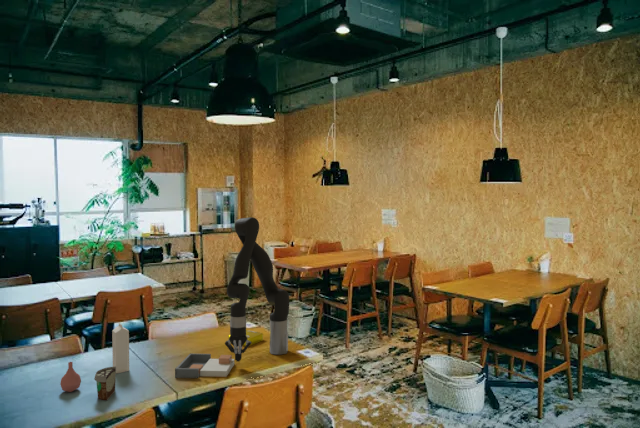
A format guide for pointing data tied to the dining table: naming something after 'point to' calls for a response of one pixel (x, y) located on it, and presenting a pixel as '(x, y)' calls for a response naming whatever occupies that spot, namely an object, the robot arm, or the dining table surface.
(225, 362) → the tile inner
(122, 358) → the milk
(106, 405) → the dining table surface
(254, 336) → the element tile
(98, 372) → the food container
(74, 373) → the pink bulb-shaped piece
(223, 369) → the board
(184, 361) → the tray
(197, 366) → the tile outer
